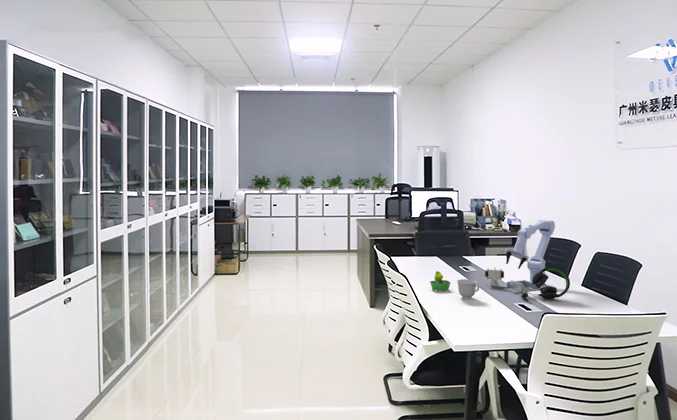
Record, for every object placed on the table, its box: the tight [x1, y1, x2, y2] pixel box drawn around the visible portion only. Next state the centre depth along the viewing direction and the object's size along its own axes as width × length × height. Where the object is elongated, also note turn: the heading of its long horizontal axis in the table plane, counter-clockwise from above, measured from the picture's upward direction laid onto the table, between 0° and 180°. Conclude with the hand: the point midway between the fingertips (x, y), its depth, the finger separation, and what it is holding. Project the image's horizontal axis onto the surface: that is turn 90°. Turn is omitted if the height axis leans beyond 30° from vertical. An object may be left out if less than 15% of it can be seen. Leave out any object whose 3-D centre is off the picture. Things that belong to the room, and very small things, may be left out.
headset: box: [520, 266, 571, 301], centre depth 283 cm, size 18×14×29 cm
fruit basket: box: [429, 270, 451, 291], centre depth 308 cm, size 11×9×11 cm
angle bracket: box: [503, 280, 524, 295], centre depth 301 cm, size 10×6×6 cm, turn 19°
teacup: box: [456, 278, 480, 300], centre depth 285 cm, size 12×15×10 cm
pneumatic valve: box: [484, 267, 505, 287], centre depth 318 cm, size 6×12×12 cm, turn 72°
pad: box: [523, 286, 538, 293], centre depth 307 cm, size 11×12×1 cm
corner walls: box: [506, 279, 542, 292], centre depth 309 cm, size 14×15×4 cm
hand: (512, 266), depth 305 cm, fingers open, 7 cm apart
